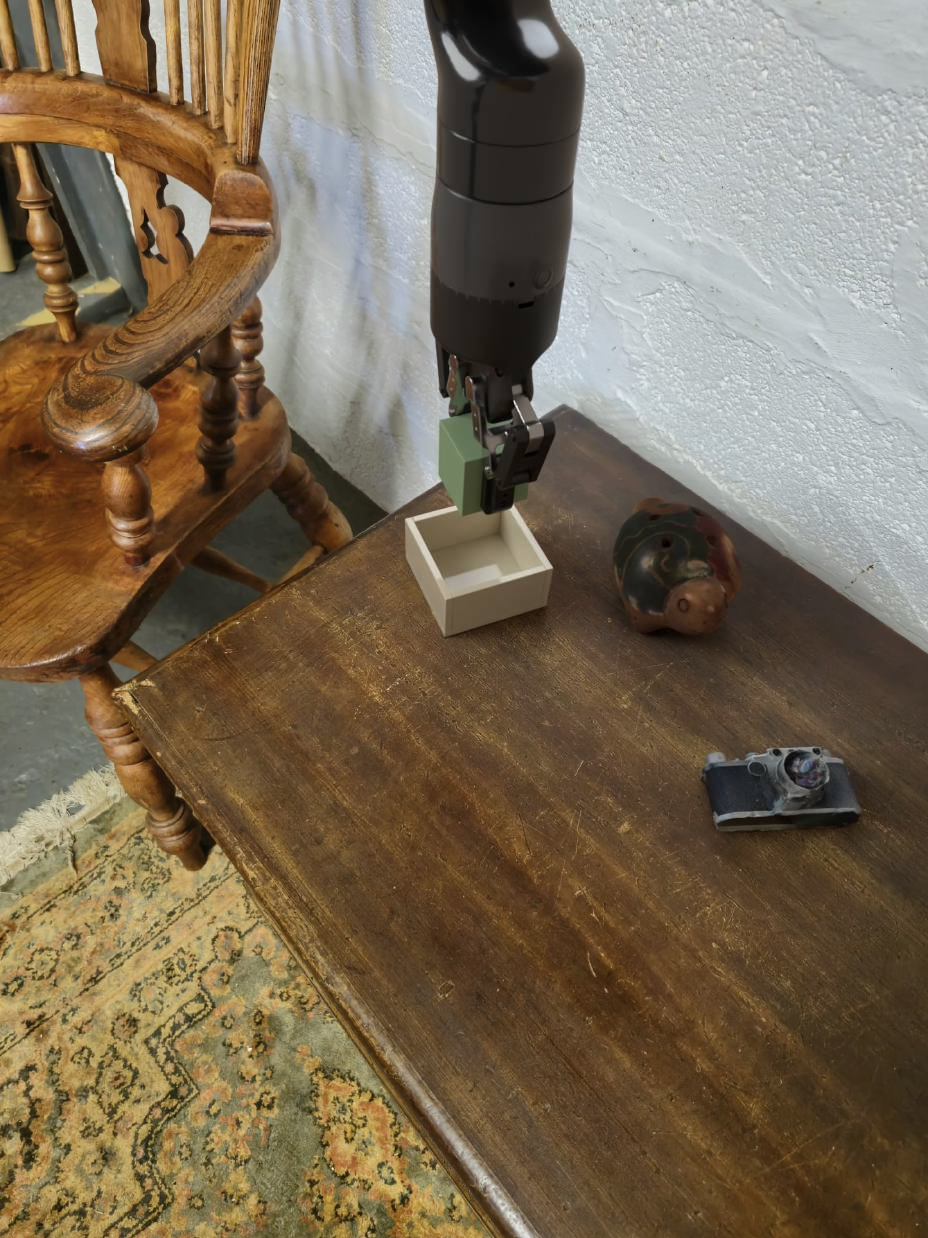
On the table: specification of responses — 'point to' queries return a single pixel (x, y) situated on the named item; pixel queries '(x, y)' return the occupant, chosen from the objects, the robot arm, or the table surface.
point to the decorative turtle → (675, 568)
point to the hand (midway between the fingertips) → (481, 484)
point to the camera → (780, 790)
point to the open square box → (476, 566)
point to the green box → (466, 463)
